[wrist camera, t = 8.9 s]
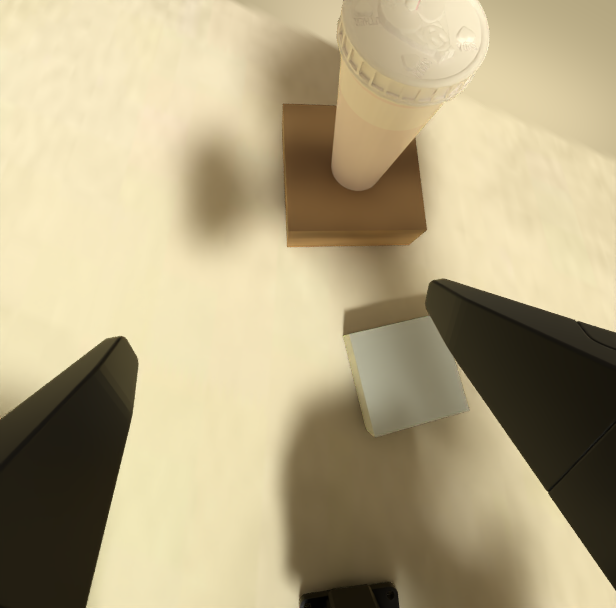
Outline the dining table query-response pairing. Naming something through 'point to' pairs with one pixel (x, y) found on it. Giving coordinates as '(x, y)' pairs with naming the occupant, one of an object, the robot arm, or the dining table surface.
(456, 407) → the grey tile
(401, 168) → the walnut block
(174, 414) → the dining table surface
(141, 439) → the dining table surface
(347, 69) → the smoothie
